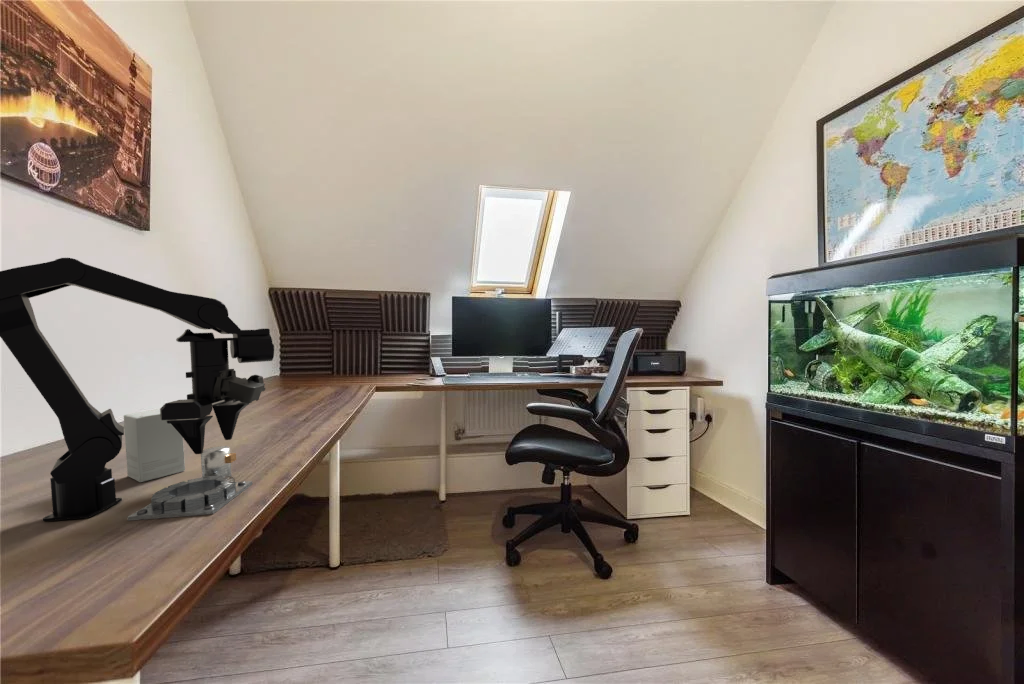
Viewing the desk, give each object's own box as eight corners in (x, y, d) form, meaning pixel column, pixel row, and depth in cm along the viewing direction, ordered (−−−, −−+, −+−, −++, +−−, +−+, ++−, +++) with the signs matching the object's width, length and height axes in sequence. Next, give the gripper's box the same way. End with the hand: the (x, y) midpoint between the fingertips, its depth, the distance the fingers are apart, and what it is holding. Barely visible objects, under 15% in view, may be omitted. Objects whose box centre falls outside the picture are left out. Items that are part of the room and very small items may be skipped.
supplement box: (186, 471, 83) (182, 410, 82) (138, 483, 76) (134, 418, 76) (172, 465, 87) (168, 407, 86) (126, 476, 80) (122, 414, 80)
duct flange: (127, 520, 61) (126, 506, 61) (181, 489, 73) (181, 477, 73) (212, 514, 63) (212, 500, 63) (252, 484, 75) (251, 472, 74)
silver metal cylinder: (196, 485, 74) (195, 454, 74) (211, 476, 79) (210, 446, 79) (227, 483, 75) (226, 452, 75) (241, 474, 80) (239, 445, 79)
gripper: (227, 368, 68) (232, 459, 68) (277, 359, 86) (281, 431, 87) (155, 371, 66) (160, 464, 67) (221, 361, 85) (225, 434, 85)
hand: (214, 446), depth 77 cm, fingers open, 9 cm apart
